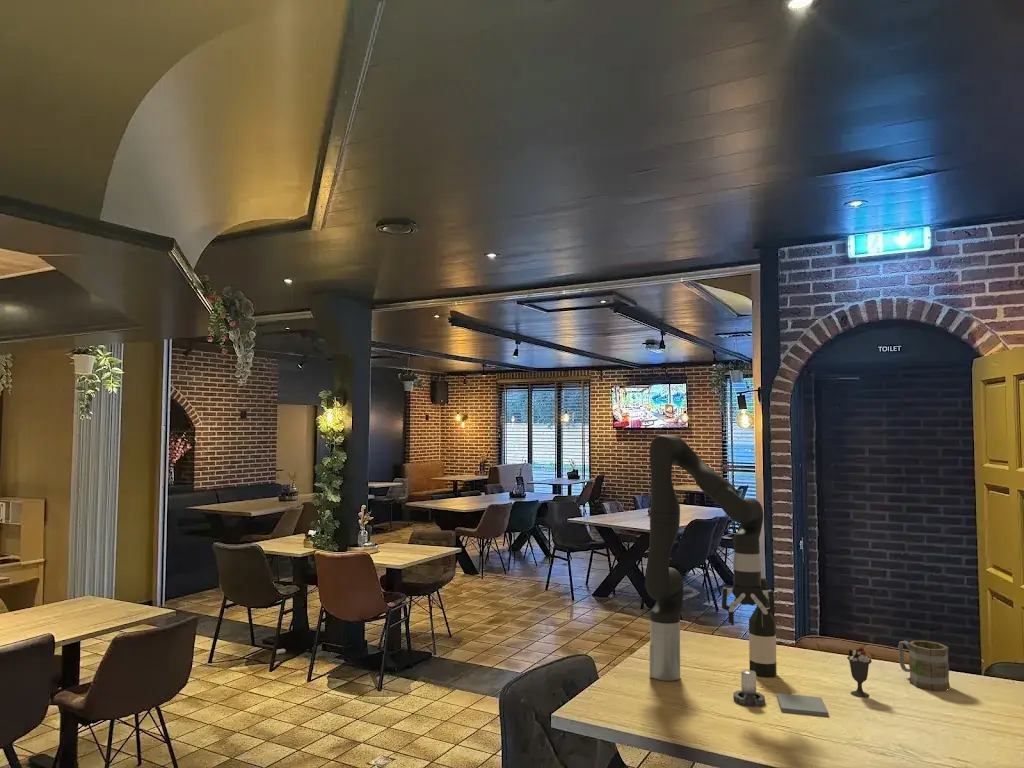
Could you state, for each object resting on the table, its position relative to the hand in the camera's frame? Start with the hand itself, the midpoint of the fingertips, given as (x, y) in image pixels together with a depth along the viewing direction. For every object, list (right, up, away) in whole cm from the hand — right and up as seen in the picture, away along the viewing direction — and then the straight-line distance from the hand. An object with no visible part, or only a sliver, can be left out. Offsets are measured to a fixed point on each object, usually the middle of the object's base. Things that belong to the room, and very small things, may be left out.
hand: (748, 626), depth 206 cm
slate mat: (+13, -21, -5) cm, 25 cm away
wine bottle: (+12, -23, +23) cm, 35 cm away
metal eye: (0, -21, -2) cm, 21 cm away
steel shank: (0, -21, -2) cm, 21 cm away
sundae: (+35, -22, +5) cm, 41 cm away
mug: (+59, -23, +16) cm, 65 cm away
